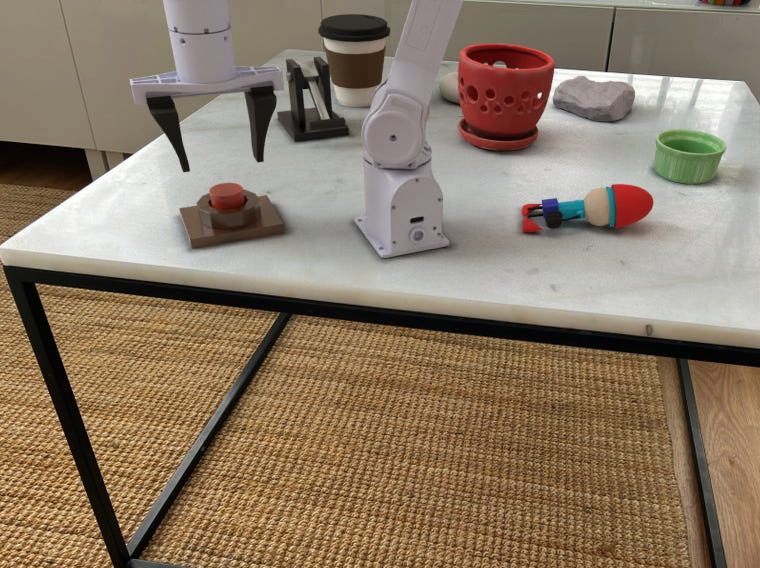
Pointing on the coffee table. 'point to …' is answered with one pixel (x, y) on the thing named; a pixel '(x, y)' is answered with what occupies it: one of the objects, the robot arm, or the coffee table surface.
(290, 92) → the bracket
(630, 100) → the stone block
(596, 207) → the toy figure
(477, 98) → the flower pot
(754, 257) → the coffee table surface
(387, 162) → the robot arm
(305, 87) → the lever
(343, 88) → the coffee cup
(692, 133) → the ramekin
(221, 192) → the button
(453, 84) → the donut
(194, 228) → the button block
